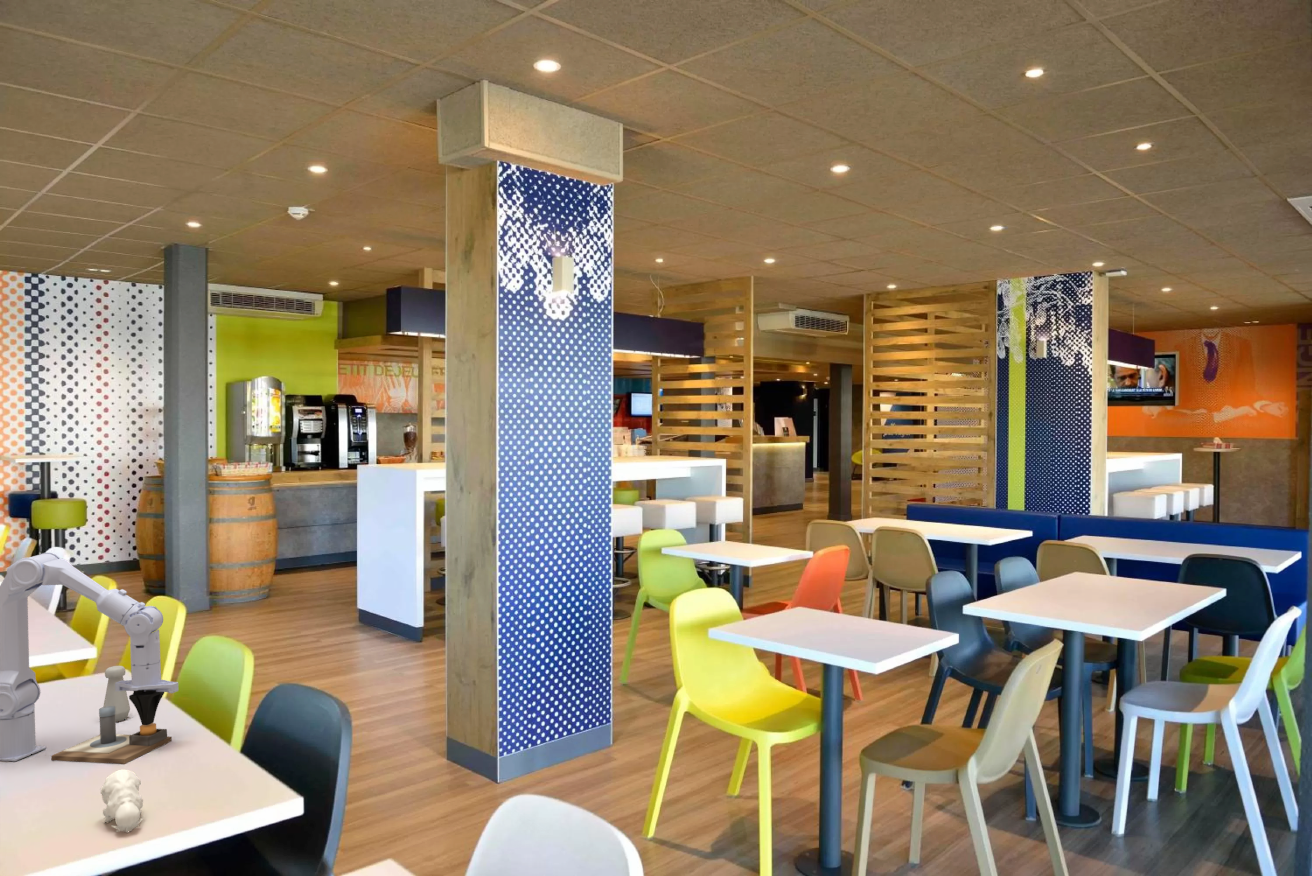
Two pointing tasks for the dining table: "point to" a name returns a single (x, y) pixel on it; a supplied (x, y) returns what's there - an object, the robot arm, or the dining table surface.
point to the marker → (107, 724)
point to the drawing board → (114, 748)
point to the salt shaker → (116, 693)
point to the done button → (148, 729)
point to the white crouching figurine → (122, 800)
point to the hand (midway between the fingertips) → (147, 723)
